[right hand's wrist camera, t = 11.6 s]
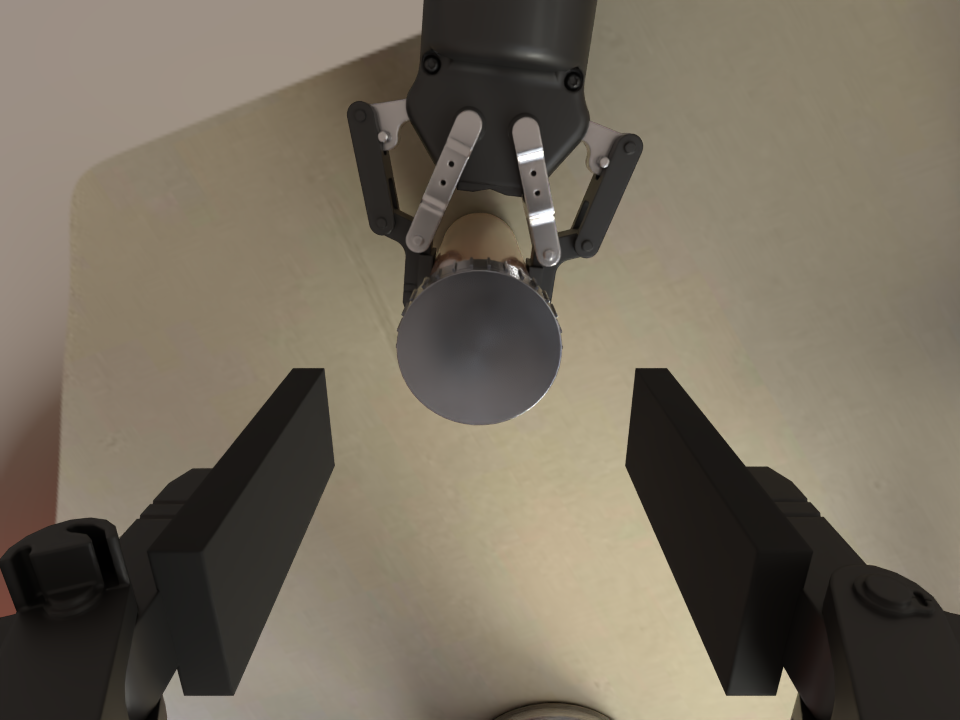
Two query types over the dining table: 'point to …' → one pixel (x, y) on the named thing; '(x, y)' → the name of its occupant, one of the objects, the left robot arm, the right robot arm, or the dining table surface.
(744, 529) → the right robot arm
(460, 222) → the jar
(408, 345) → the lid
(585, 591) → the dining table surface
